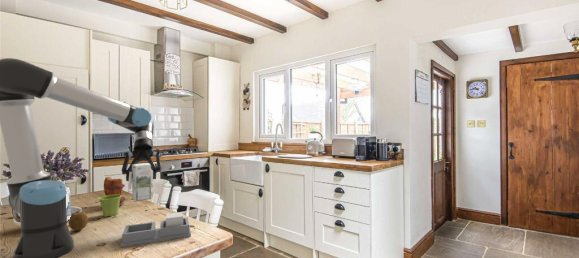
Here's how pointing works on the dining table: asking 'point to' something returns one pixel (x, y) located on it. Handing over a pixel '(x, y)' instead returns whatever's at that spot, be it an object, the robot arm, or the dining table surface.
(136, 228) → the grey box holder
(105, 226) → the dining table surface
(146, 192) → the syrup box
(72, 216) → the fruit
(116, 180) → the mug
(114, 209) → the plant pot
